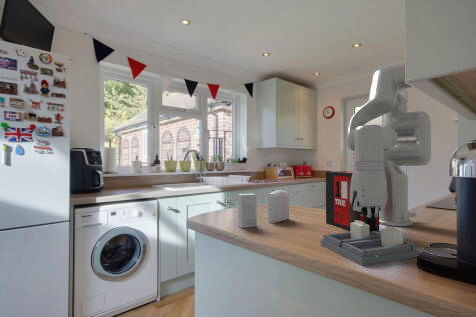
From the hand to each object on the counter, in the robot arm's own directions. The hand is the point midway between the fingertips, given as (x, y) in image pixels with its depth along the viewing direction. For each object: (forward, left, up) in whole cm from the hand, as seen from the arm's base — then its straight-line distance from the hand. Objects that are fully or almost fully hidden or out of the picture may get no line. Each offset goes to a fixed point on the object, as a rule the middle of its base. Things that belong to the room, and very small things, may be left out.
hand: (369, 230), depth 77 cm
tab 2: (0, +8, -2) cm, 8 cm away
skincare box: (+27, -31, -4) cm, 41 cm away
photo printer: (+12, -35, -4) cm, 37 cm away
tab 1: (+3, 0, -2) cm, 4 cm away
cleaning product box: (-8, -17, -4) cm, 19 cm away
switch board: (+5, +4, -4) cm, 7 cm away
